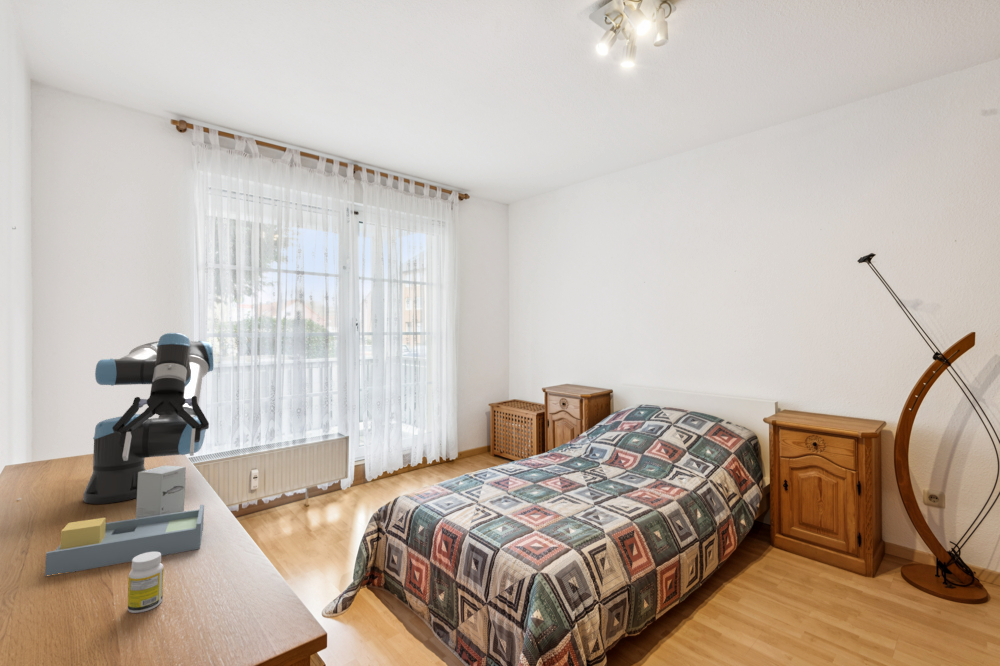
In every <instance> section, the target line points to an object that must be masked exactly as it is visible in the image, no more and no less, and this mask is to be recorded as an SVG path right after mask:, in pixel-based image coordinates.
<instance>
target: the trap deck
mask: <svg viewBox="0 0 1000 666" xmlns="http://www.w3.org/2000/svg"><path fill="white" fill-rule="evenodd" d="M204 512H205V504H200V505H199V509H191V510H186V511H185V510H184V512H177V513H170V514H164V515H157V516H150V517H143V518H136V517H135V518H130V519H123V520H117V521H109V522H106V527H105V537H104V538H103V540H102V542H101V543H98V544H92V545H86V546H80V547H74V548H68V549H62V550H60V544H59V546H57V548H55V550H50V551H47V552H46V553H45V566H44V567H45V568H44V569H45V571H44V577H45V576H47V575H52V574H58V573H65V574H67V573H66V572H70V573H74V572H75V571H76V572H79V571H86V570H91V569H97V568H101V567H108V566H112V565H118V564H124V563H129V562H132V559H133V558H134V557H136V556H138V555H140V554H143V553H147V552H160V553H161V557H162V556H167V555H168V556H169V555H172V554H173V555H174V554H177V553H184V552H188V551H195V550H199V549H201V546H202V545H201V544H202V543H201V542H202V537H203V532H202V531H204V514H205V513H204Z"/></svg>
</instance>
